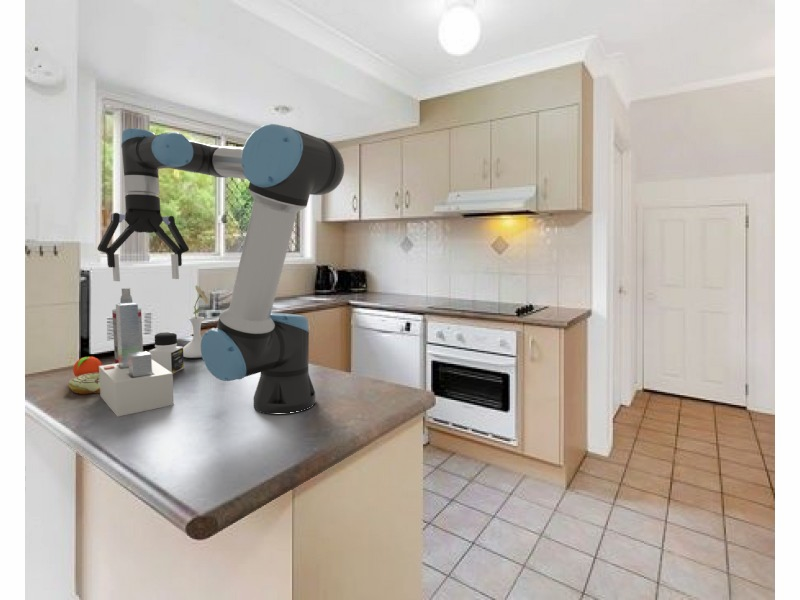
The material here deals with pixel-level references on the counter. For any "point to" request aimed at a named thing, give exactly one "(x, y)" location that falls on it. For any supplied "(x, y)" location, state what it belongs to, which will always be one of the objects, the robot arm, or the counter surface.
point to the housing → (135, 389)
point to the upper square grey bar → (127, 331)
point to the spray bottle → (124, 299)
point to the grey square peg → (139, 364)
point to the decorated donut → (85, 383)
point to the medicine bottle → (168, 352)
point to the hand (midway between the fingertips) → (147, 280)
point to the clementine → (86, 366)
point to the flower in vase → (195, 331)
